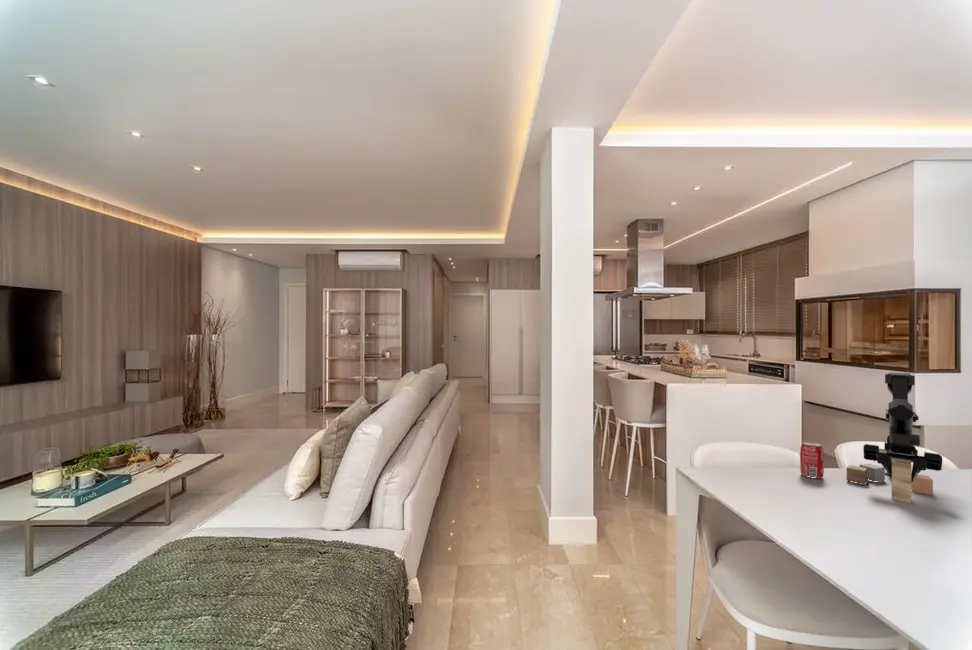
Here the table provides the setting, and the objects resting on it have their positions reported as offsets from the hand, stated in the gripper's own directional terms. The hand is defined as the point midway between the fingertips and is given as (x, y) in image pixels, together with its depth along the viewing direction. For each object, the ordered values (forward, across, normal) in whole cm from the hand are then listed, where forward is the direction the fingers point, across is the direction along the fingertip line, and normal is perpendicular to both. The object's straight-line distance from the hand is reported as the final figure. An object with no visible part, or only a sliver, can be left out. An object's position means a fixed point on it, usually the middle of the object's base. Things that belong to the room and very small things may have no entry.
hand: (901, 479), depth 142 cm
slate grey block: (-10, -7, +19) cm, 23 cm away
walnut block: (-5, -11, +14) cm, 19 cm away
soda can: (-2, -24, +11) cm, 26 cm away
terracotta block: (-7, +5, +16) cm, 19 cm away
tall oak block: (+4, 0, +6) cm, 7 cm away
